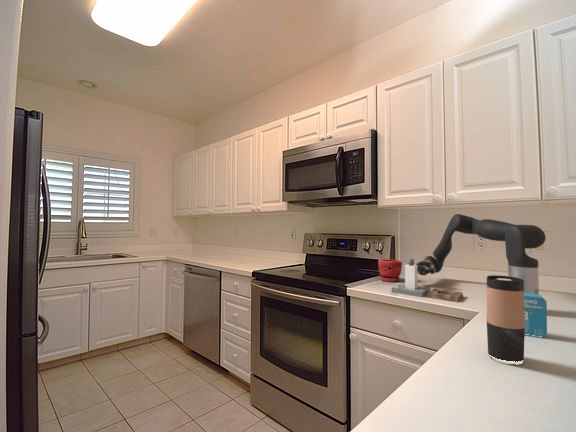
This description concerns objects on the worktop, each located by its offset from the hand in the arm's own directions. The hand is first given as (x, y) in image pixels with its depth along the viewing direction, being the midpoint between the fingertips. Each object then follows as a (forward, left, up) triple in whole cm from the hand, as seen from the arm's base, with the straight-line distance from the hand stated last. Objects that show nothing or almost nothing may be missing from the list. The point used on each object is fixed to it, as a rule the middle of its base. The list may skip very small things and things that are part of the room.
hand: (415, 271), depth 150 cm
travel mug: (-41, +66, -9) cm, 78 cm away
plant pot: (+19, -14, -9) cm, 26 cm away
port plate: (0, +8, -9) cm, 12 cm away
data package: (-43, +41, -9) cm, 60 cm away
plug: (0, +7, -9) cm, 12 cm away
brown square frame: (-15, +8, -9) cm, 19 cm away
